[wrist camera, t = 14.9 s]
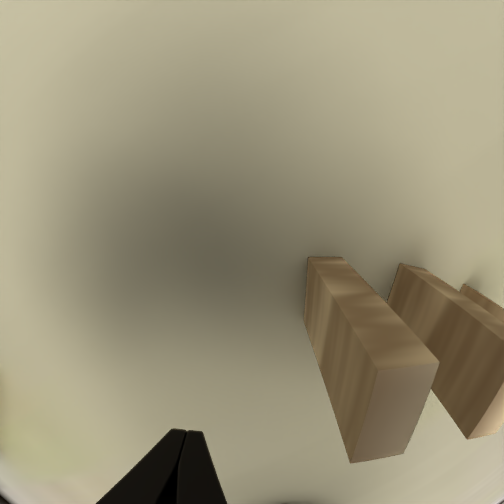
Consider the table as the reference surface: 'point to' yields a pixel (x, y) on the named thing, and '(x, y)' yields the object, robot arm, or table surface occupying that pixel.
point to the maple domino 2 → (456, 348)
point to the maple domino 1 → (365, 360)
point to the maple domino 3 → (483, 302)
